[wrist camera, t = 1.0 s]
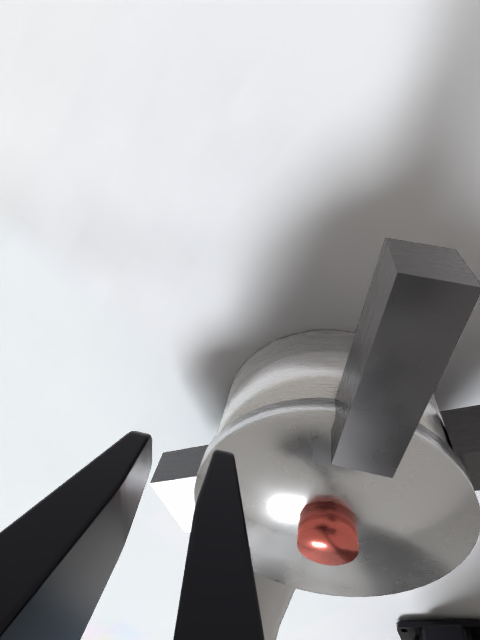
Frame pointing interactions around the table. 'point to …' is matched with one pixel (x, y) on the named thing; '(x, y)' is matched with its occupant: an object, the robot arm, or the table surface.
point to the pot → (295, 383)
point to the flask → (272, 604)
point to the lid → (365, 448)
